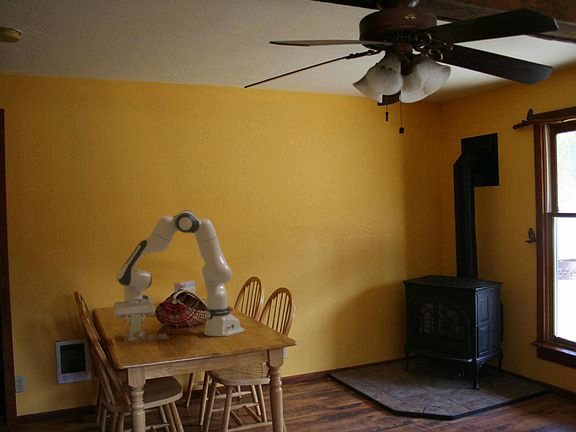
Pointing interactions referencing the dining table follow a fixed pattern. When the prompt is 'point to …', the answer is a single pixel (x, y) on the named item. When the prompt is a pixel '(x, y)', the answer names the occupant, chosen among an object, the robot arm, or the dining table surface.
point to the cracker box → (185, 286)
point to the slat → (135, 323)
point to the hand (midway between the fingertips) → (135, 322)
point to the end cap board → (143, 336)
